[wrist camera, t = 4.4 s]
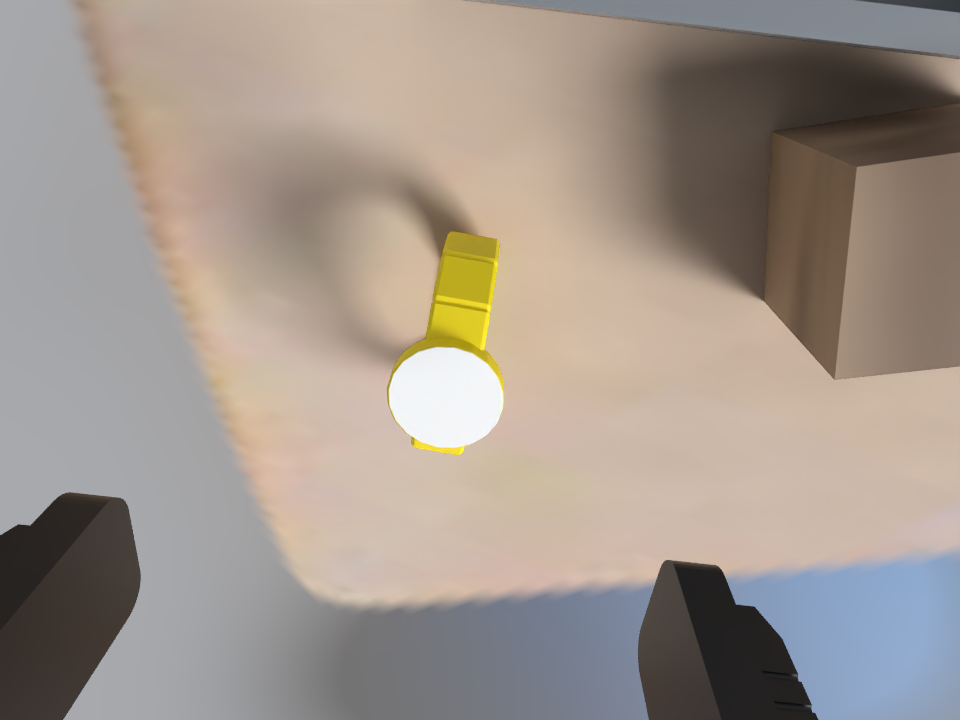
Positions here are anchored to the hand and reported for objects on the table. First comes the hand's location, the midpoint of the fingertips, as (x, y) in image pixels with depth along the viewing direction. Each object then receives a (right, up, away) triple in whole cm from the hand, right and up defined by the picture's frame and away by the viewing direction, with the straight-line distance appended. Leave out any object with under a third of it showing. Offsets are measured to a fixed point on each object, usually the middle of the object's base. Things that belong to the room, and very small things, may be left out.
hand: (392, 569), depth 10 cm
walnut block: (+12, +8, +9) cm, 17 cm away
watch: (+1, +5, +11) cm, 12 cm away
